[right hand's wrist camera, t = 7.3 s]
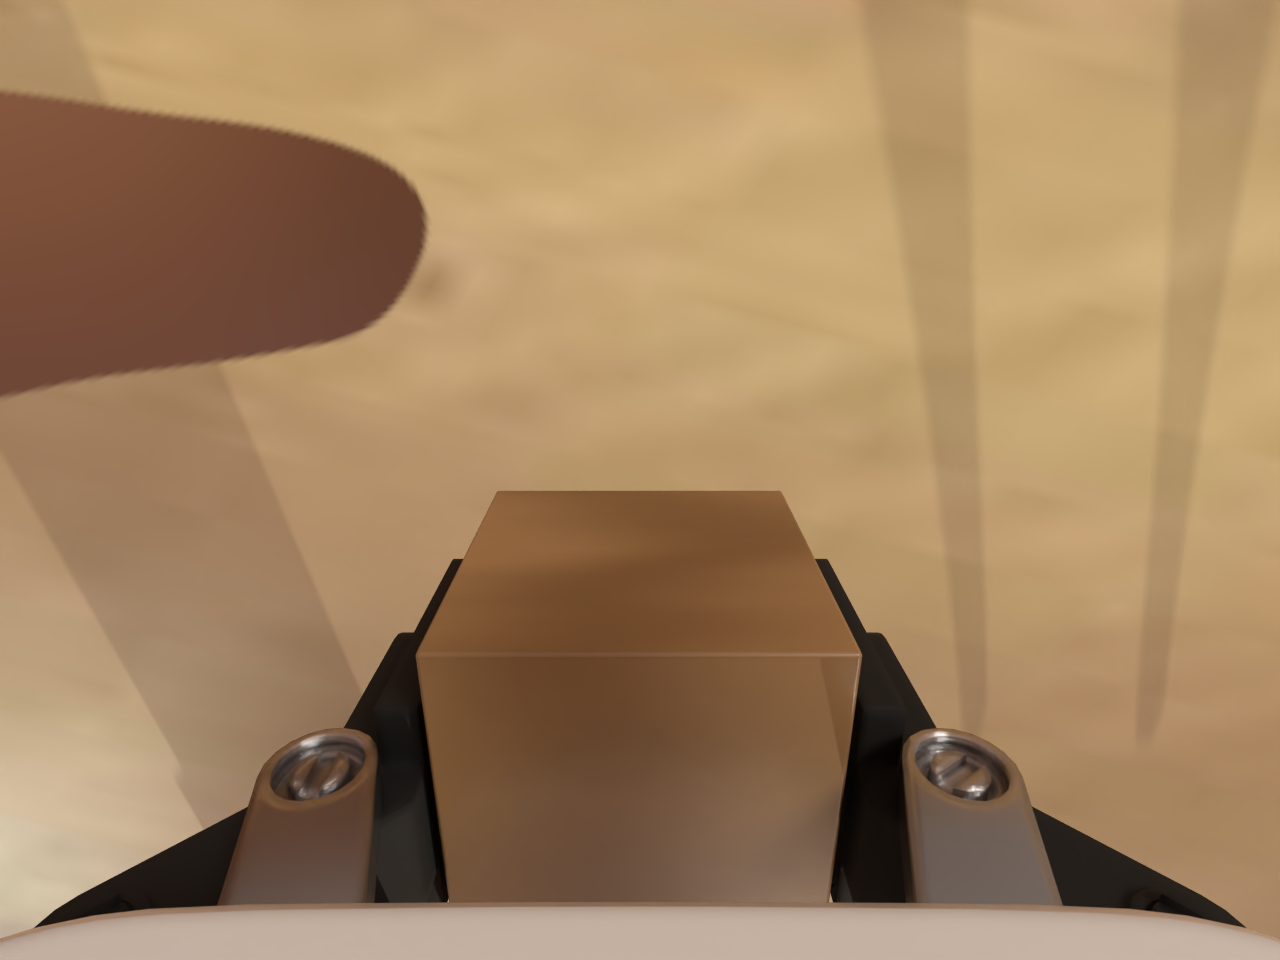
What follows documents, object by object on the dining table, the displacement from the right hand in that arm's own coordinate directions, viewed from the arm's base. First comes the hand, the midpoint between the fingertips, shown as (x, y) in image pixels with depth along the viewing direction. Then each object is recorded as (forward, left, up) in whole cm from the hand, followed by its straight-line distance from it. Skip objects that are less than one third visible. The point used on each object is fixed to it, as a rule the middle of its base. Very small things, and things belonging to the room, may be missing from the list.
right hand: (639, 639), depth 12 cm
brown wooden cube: (0, 0, 0) cm, 0 cm away
